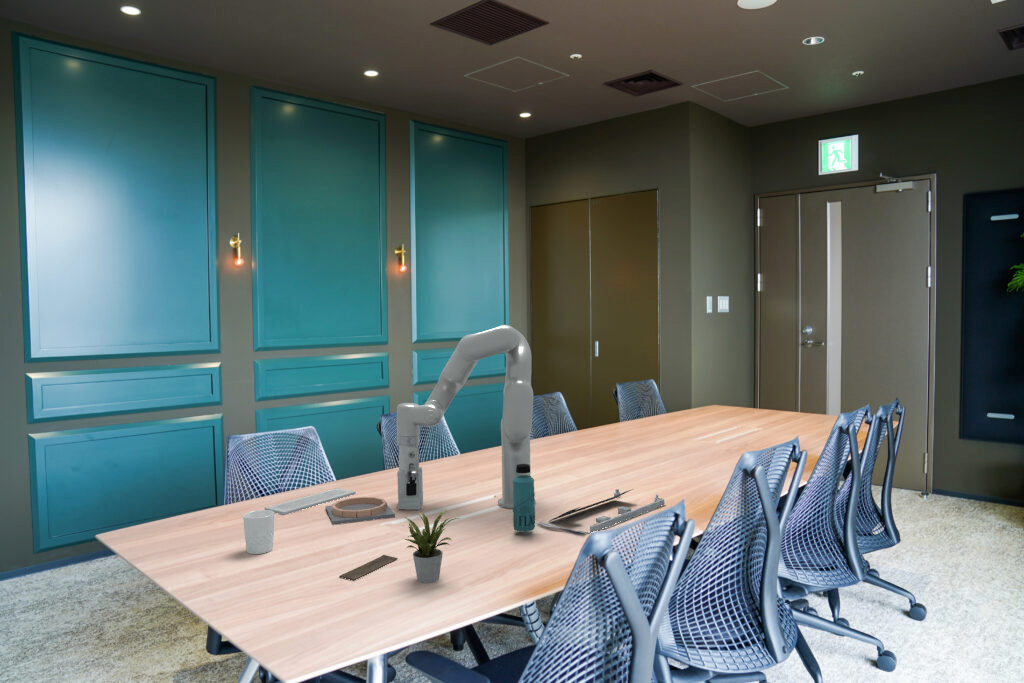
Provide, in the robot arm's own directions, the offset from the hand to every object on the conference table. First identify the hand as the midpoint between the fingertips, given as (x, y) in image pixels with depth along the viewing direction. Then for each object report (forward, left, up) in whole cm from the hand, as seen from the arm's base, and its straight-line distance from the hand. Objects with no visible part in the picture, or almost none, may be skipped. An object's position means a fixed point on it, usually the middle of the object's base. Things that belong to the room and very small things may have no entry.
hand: (407, 491), depth 226 cm
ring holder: (0, +16, -5) cm, 17 cm away
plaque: (+20, +29, -6) cm, 36 cm away
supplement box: (0, -1, -5) cm, 5 cm away
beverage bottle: (-42, -24, -5) cm, 49 cm away
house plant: (-64, +9, -5) cm, 65 cm away
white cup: (-25, +47, -5) cm, 54 cm away
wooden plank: (-51, +22, -6) cm, 56 cm away
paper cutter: (-35, -53, -6) cm, 64 cm away
